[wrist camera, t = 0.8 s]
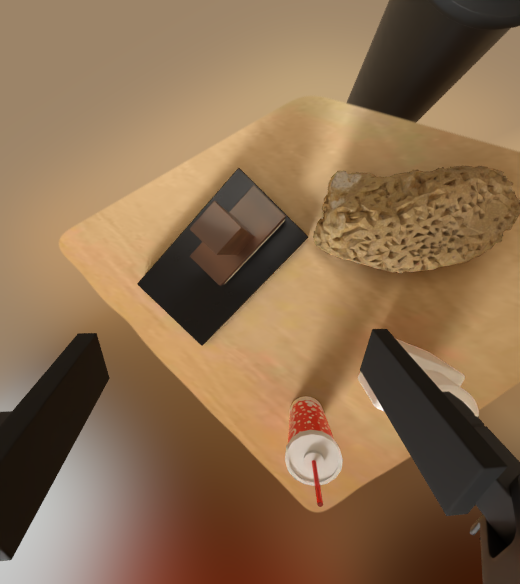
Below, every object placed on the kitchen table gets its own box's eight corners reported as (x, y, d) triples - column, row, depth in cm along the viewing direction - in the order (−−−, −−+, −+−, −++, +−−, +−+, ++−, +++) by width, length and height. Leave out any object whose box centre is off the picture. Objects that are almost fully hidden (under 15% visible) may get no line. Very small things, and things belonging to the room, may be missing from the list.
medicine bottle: (405, 398, 35) (467, 469, 24) (356, 378, 36) (392, 439, 24) (429, 351, 34) (507, 402, 22) (378, 331, 35) (429, 370, 23)
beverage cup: (304, 382, 36) (317, 459, 23) (337, 410, 37) (370, 504, 23) (275, 412, 37) (271, 504, 24) (308, 439, 37) (323, 546, 24)
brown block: (256, 191, 32) (240, 150, 20) (285, 219, 32) (287, 197, 20) (197, 256, 34) (148, 256, 21) (225, 283, 34) (192, 299, 22)
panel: (240, 171, 33) (238, 167, 32) (307, 237, 34) (308, 236, 32) (142, 282, 36) (136, 284, 35) (205, 342, 37) (201, 346, 35)
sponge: (310, 259, 35) (480, 300, 30) (307, 243, 28) (532, 294, 23) (337, 167, 36) (509, 192, 31) (341, 126, 28) (570, 150, 23)
